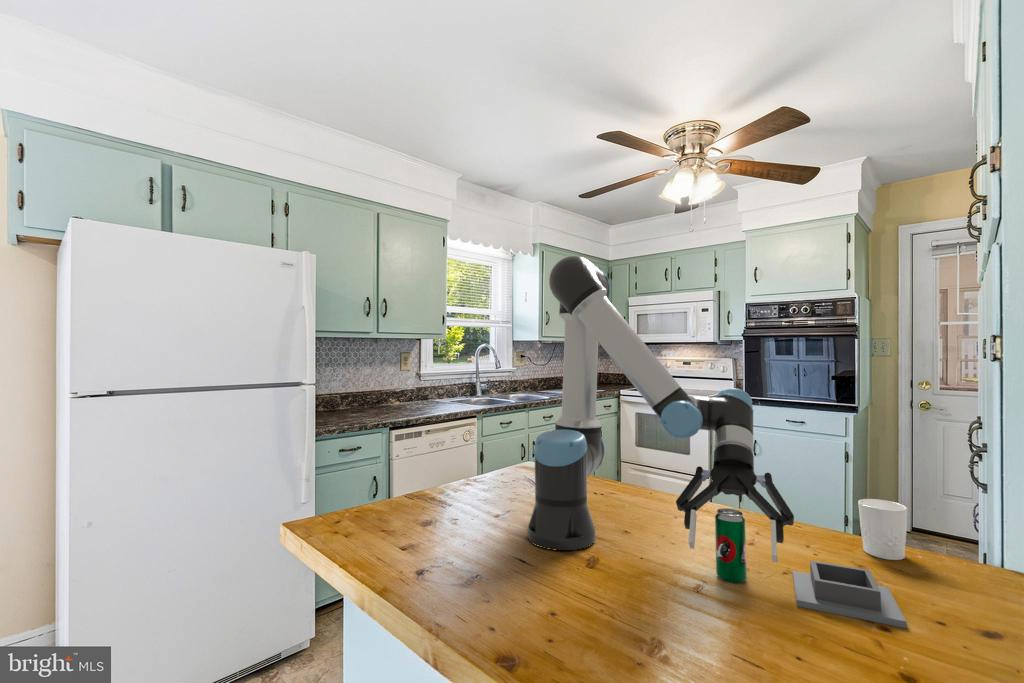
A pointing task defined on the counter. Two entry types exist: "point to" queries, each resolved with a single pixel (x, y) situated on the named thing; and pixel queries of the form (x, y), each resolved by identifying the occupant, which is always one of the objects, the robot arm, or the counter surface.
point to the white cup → (883, 528)
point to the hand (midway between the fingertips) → (731, 552)
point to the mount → (846, 593)
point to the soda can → (730, 545)
